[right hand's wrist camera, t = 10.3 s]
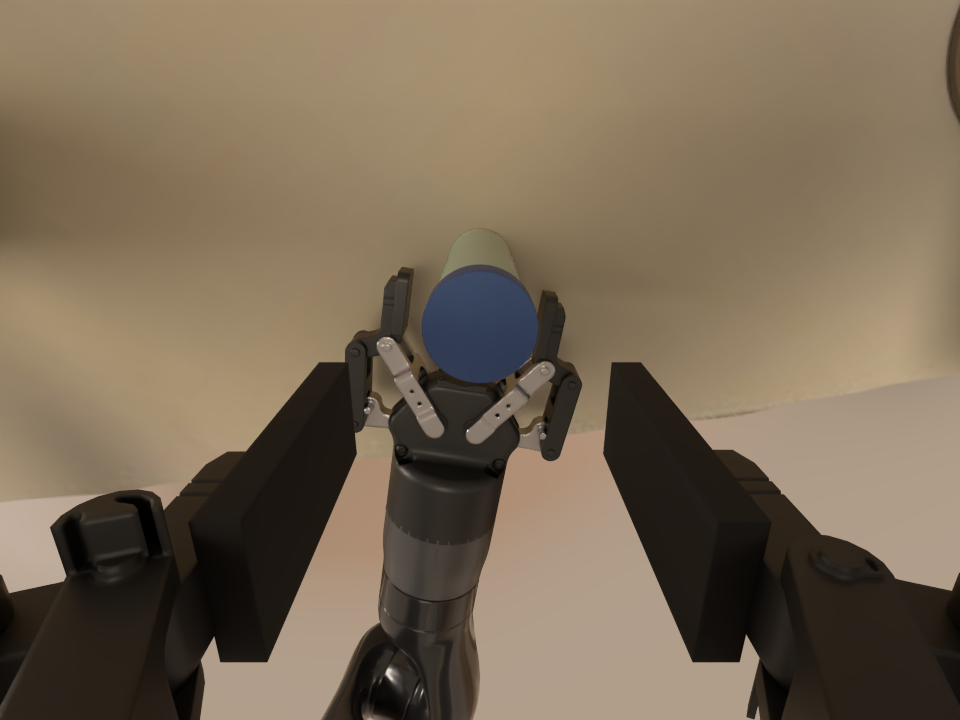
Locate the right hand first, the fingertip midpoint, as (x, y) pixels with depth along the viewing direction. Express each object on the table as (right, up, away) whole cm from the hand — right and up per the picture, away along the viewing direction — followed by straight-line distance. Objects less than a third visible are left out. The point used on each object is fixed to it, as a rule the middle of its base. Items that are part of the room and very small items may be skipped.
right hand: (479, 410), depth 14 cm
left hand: (0, +6, +17) cm, 18 cm away
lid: (0, +3, +7) cm, 8 cm away
